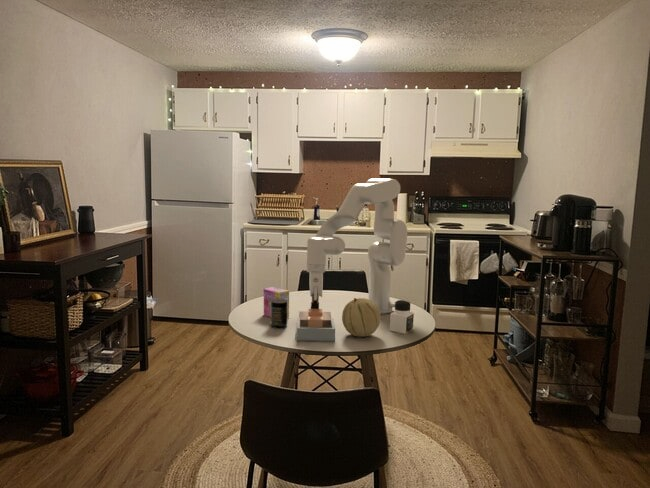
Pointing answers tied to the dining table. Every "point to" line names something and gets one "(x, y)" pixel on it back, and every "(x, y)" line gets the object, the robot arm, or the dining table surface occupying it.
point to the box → (274, 294)
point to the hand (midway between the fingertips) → (314, 311)
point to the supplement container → (279, 313)
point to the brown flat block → (325, 315)
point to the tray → (315, 333)
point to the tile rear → (315, 312)
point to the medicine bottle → (401, 317)
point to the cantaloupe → (361, 317)
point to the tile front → (315, 321)
